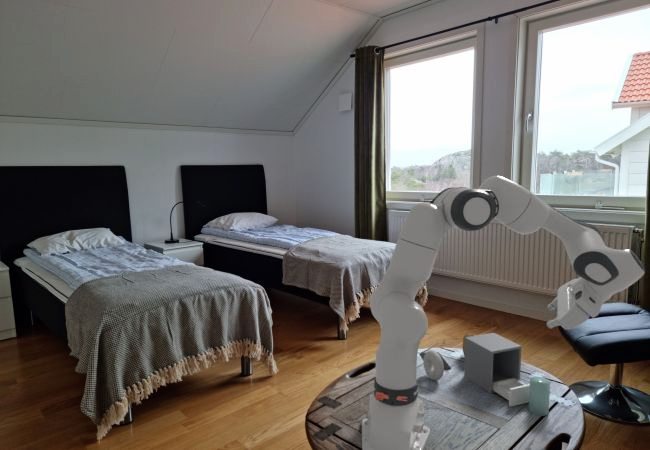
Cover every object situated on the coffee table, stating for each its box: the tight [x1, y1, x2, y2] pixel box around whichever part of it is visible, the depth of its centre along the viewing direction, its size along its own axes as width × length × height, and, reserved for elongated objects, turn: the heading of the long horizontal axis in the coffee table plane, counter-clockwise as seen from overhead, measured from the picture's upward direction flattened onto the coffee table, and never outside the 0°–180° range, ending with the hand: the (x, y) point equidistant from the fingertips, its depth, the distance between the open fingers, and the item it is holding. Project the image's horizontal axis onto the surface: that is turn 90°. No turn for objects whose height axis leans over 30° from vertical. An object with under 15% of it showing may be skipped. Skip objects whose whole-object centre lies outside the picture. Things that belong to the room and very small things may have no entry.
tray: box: [492, 378, 530, 407], centre depth 144 cm, size 12×12×5 cm
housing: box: [463, 332, 522, 394], centre depth 153 cm, size 13×12×14 cm
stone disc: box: [462, 332, 478, 357], centre depth 170 cm, size 10×4×10 cm, turn 7°
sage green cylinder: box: [528, 375, 551, 417], centre depth 134 cm, size 5×5×10 cm
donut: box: [422, 349, 445, 381], centre depth 155 cm, size 10×4×10 cm, turn 18°
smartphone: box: [419, 351, 452, 371], centre depth 170 cm, size 8×15×1 cm, turn 5°
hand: (548, 317), depth 139 cm, fingers open, 8 cm apart
